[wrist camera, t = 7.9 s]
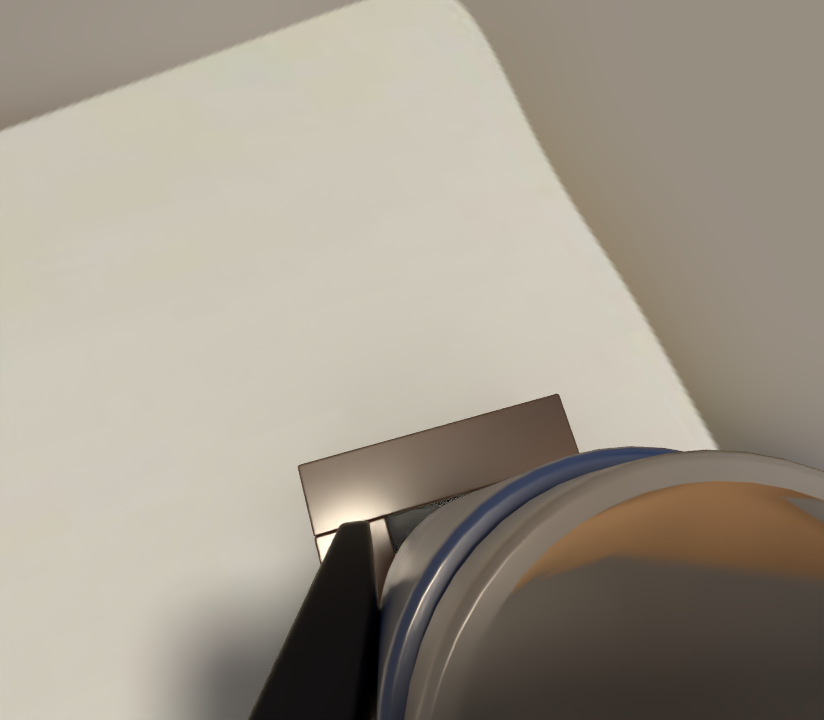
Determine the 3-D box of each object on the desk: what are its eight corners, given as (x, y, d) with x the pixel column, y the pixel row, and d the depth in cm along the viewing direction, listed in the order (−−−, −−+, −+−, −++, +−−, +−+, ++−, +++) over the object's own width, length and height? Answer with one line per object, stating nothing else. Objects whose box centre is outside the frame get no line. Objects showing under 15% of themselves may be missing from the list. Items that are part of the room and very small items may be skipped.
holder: (683, 859, 20) (746, 929, 16) (425, 957, 19) (434, 1053, 15) (533, 412, 23) (558, 392, 20) (309, 474, 22) (297, 465, 19)
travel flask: (516, 683, 14) (1202, 1473, 2) (363, 644, 14) (270, 1221, 2) (543, 525, 15) (1126, 512, 3) (401, 489, 15) (467, 351, 3)
